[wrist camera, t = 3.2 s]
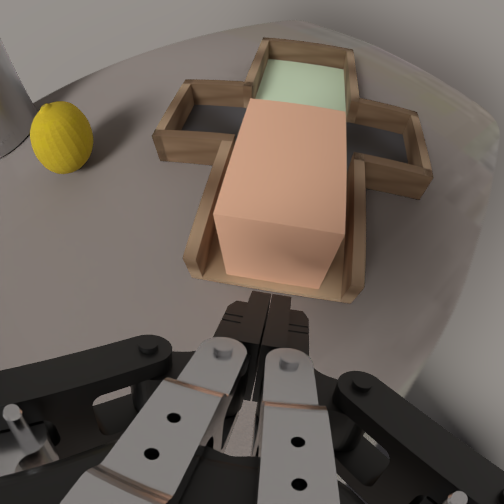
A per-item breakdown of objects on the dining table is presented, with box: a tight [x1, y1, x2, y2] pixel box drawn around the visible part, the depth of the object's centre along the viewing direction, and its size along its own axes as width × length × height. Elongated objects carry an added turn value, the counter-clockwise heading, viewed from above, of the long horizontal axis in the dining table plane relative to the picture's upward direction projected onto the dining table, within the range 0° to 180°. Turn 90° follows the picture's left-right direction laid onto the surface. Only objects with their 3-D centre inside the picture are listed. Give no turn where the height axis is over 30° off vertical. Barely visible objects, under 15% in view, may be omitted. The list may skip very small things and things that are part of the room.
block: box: [213, 98, 347, 289], centre depth 19 cm, size 9×6×7 cm, turn 169°
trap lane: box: [152, 38, 433, 304], centre depth 26 cm, size 29×22×3 cm
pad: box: [255, 59, 346, 112], centre depth 31 cm, size 10×9×1 cm
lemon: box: [30, 101, 93, 174], centre depth 23 cm, size 6×6×8 cm
